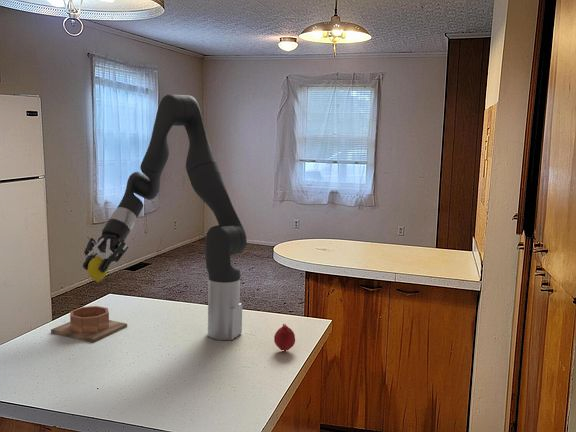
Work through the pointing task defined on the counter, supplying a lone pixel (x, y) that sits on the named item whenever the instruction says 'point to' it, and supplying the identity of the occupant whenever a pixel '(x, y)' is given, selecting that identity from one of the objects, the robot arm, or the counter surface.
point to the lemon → (96, 269)
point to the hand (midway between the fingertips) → (93, 269)
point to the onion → (284, 338)
